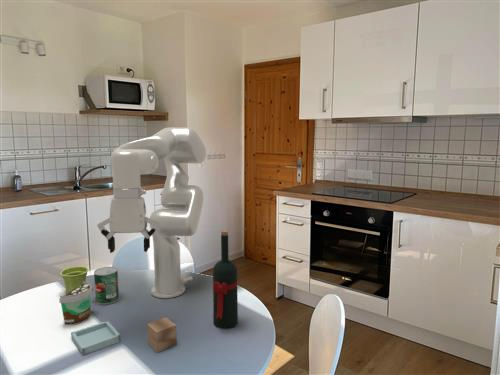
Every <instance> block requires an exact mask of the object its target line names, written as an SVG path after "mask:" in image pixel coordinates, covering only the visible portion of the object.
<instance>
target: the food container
mask: <svg viewBox="0 0 500 375" xmlns="http://www.w3.org/2000/svg"><path fill="white" fill-rule="evenodd" d="M93 293H94V291H93V288H92V285H91V283H89V282H88V281H86V282H84V281H83V284H82V285H81V286H79V287H78V288H75V289H73V290H72V291H70V292H69V293H68V294H67V293H66V294H65V295H59V301H58V303H59V304H61V312H62V316H63V321H64V325H76V324H79V323H83V322H85V321H87V320H88V319H89V318H90V317H91V309H92V308H91V305H92V304H91V299H92V297H91V295H92V294H93Z"/></svg>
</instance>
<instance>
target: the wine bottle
mask: <svg viewBox="0 0 500 375" xmlns="http://www.w3.org/2000/svg"><path fill="white" fill-rule="evenodd" d="M228 233H229V230H223V229H222V231H221V232H220V234H221V235H220V250H221V252H220V255H221V259H220V260H219V261H217V262H216V263H215V265H213V269H212V296H213V297H212V298H213V300H212V302H213V304H212V307H213V308H212V311H213V314H212V315H213V316H212V318H213V322H212V323H213V324H212V325H214V326H215V328H217V329H221V330H229V329H232V328H233V329H234V328H235V327H236V326H237V325H238V323H239V322H238V321H239V319H238V318H239V314H238V313H239V312H238V311H239V310H238V309H239V308H238V306H239V305H238V304H239V302H238V300H239V299H238V267H237V265H236V264H235V263H234V262H233V261H231V260H229V234H228Z"/></svg>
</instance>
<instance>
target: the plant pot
mask: <svg viewBox="0 0 500 375" xmlns="http://www.w3.org/2000/svg"><path fill="white" fill-rule="evenodd" d="M88 272H89V268H88V267H86V266H82V265H81V266H79V265H78V266H71V267H67V268H64V269H63V270H61V272H60V275H61V276H62V279H63V282H64V283H63V284H64V287H65V291H66V295H67V294H68V293H69V292H70V291H72V290H73V289H75V288H78V287H79V286H81V285H82V284H83V281H84V282H87V275H88Z"/></svg>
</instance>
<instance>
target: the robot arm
mask: <svg viewBox="0 0 500 375" xmlns="http://www.w3.org/2000/svg"><path fill="white" fill-rule="evenodd" d="M206 157H207V148H206V146H205V144H204V142H203V140H202V138H201V137H200V135H199V134H198V132H196V130H194V129H193V128H191V127H187V126H186V127H185V126H184V127H180V126H179V127H177V126H176V127H174V126H173V127H171V126H169V127H165V128H163V129H161V130H159V131H158V132H156V133H155V134H152V135H151V136H149V137H145V138H141V139H138V140H134V141H130V142H126V143H124V144H122V145H120V146H118V147H117V148H115V149H114V151H112V152H111V155H110V157H109V158H110V159H109V165H110V168H111V170H112V183H113V184H112V187H113V188H112V189H113V197H112V198H111V200H110V208H109V217H108V218H106V219H105V220H103V221H100V222H99V223H98V224H97V225H96V226H97V228H98V230H99V231H100V233H101V235H102V236H104V237H105V238H106V239H107V250H109V253H110V254H111V253H114V252H115V250H116V240H115V239H116V238H115V237H114V235H115V234H130V233H131V234H133V233H136V234H137V233H141V235H142V236H143V237H144V238H143V252H144V253H147V252H148V250H149V249H150V247H151V238H150V237H152V243H153V246H152V247H153V263H154V264H153V266H154V286H153V287H151V290H150V294H151V295H152V296H153V297H155V298H159V299H171V298H177V297H178V296H180V295H183V294H184V293H185V292H186V286H185V284H186V283H191V282H192V281H193V276H191V275H190V276H187V275H183V276H182V274H181V273H182V272H181V271H182V270H181V247H180V246H181V245H180V243H179V241H178V238H177V237H192V236H194V235H195V234H196V233H197V230H198V227H199V225H200V224H199V223H200V219H201V215H202V210H203V204H204V192H203V190H202V188H201V187H200V186H199V185H192V184H189V180H190V177H189V174H188V173H187V171H186V170H185V168H184V167H183V166H182V165H181V164H201V163H203V162H205V160H206ZM162 160H164V164H165V169H166V174H167V175H166V179H165V182H164V186H163V190H162V192H161V197H160V204H161V206H162V207H163V208H160V209H159V208H158V209H156V210H154V211H153V212H151V214H150V216H149V217H148V215H147V208H146V203H145V202H146V201H145V197H143V196H142V195H146V194H147V190H146V189H143V188H142V187H141V184H142V183H141V175H151V174H152V173H154V172H155V171H157V169H158V167H159V161H162ZM108 224H109V226H108V227H109V230H110V231H109V230H107V229H106V227H105V226H106V225H108ZM148 224H149V228H150V230H148V229H147V227H148ZM186 276H187V277H186Z"/></svg>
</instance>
